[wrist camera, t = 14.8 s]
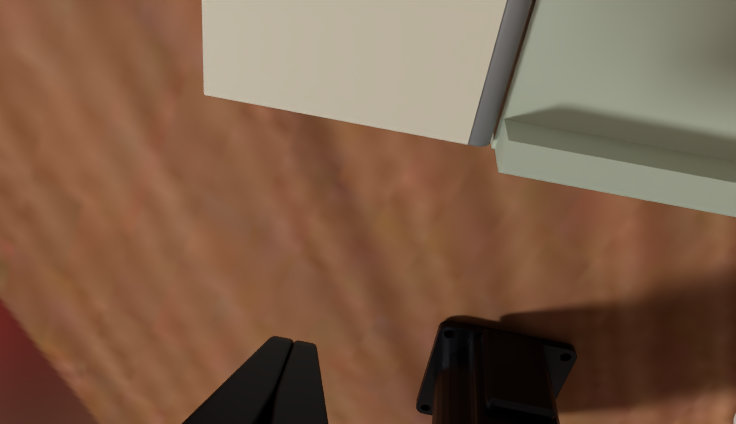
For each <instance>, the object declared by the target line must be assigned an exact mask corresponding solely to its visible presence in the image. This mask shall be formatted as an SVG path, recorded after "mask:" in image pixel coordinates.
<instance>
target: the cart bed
mask: <svg viewBox="0 0 736 424" xmlns="http://www.w3.org/2000/svg"><path fill="white" fill-rule="evenodd" d="M491 148H493V149H495V153H496V160H497V166H498V172H500V173H505V174H510V175H516V176H521V177H526V178H532V179H537V180H542V181H547V182H553V183H558V184H563V185H569V186H574V187H579V188H585V189H590V190H595V191H600V192H606V193H611V194H616V195H622V196H627V197H632V198H638V199H643V200H648V201H653V202H659V203H664V204H669V205H675V206H680V207H685V208H691V209H696V210H701V211H706V212H712V213H717V214H722V215H728V216H733V217H736V0H532V3H531V7H530V10H529V13H528V17H527V20H526V23H525V27H524V30H523V34H522V37H521V40H520V44H519V47H518V50H517V54H516V57H515V60H514V64H513V67H512V71H511V74H510V77H509V81H508V84H507V87H506V91H505V94H504V97H503V101H502V104H501V108H500V111H499V114H498V118H497V121H496V124H495V128H494V131H493V134H492V138H491Z"/></svg>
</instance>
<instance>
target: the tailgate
mask: <svg viewBox="0 0 736 424" xmlns="http://www.w3.org/2000/svg"><path fill="white" fill-rule="evenodd" d="M531 3H532V0H202V29H203V72H204V95H208V96H214V97H219V98H224V99H229V100H235V101H240V102H245V103H251V104H256V105H261V106H266V107H272V108H277V109H282V110H288V111H293V112H298V113H303V114H309V115H314V116H319V117H324V118H330V119H335V120H340V121H346V122H351V123H356V124H361V125H367V126H372V127H377V128H383V129H388V130H393V131H398V132H404V133H409V134H414V135H420V136H425V137H430V138H435V139H441V140H446V141H451V142H457V143H462V144H467V145H468V144H469V145H473V146H480V147H481V146H487V145H489V144H490V141H491V138H492V134H493V131H494V128H495V124H496V121H497V118H498V114H499V111H500V108H501V104H502V101H503V97H504V94H505V91H506V87H507V84H508V81H509V77H510V74H511V71H512V67H513V64H514V60H515V57H516V54H517V50H518V47H519V44H520V40H521V37H522V34H523V30H524V27H525V23H526V20H527V17H528V13H529V10H530V7H531Z"/></svg>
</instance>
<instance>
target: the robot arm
mask: <svg viewBox="0 0 736 424" xmlns="http://www.w3.org/2000/svg"><path fill="white" fill-rule="evenodd" d="M447 330H451V331H452V332H447ZM564 353H568V354H566V355H562V354H564ZM576 358H577V355H576V351H575V348H574V347H573V346H572V345H570V344H567V343H562V342H557V341H552V340H547V339H542V338H537V337H532V336H527V335H522V334H517V333H512V332H506V331H501V330H496V329H491V328H486V327H481V326H476V325H471V324H466V323H461V322H456V321H444V322H442V323H441V324H440V325H439V328H438V331H437V334H436V337H435V341H434V344H433V347H432V351H431V354H430V357H429V361H428V364H427V367H426V371H425V374H424V377H423V380H422V384H421V387H420V390H419V394H418V397H417V403H416V409H417V410H418V411H419V412H420V413H423V414H428V415H432V424H560V422H559V417H558V412H557V407H556V402H555V399H556V397H557V395H558V393H559V391H560V390H561V388H562V386H563V384H564V382H565V380H566V378H567V376H568V374H569V372H570V370H571V368H572V367H573V365H574V363H575V361H576ZM182 424H328V419H327V412H326V405H325V399H324V392H323V386H322V379H321V373H320V366H319V359H318V353H317V347H316V345H315V344H313V343H308V342H303V341H295V342H293V340H291V339H288V338H283V337H278V336H273V337H271V338H269V339H268V340H267V341H266V342H265V343H264V344H263V345H262V346H261V347H260V348H259V349H258V350H257V351H256V352H255V353H254V354H253V355H252V356H251V357H250V358H249V359H248V360H247V361H246V362H245V363H244V364H243V365H242V366H241V367H240V368H238V369H237V370H236V371H235V372H234V373H233V374H232V375H231V376H230V377H229V378H228V379H227V380H226V381H225V382H224V383H223V384H222V385H221V386H220V387H219V388H218V389H217V390H216V391H215V392H214V393H213V394H212V395H211V396H210V397H209V398H208V399H207V400H206V401H205V402H204V403H202V404H201V405H200V406H199V407H198V408H197V409H196V410H195V411H194V412H193V413H192V414H191V415H190V416H189V417H188V418H187V419H186V420H185V421H184V422H183V423H182Z"/></svg>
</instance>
